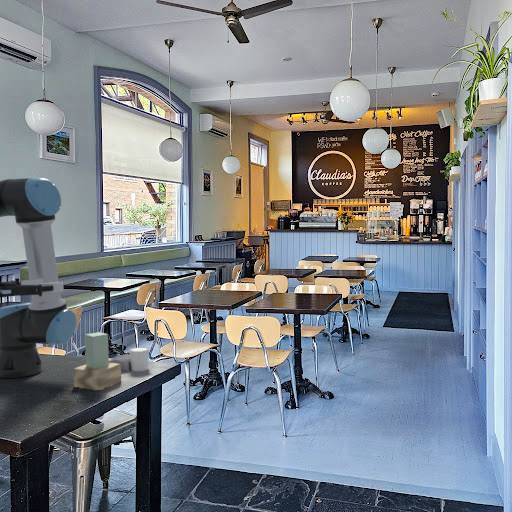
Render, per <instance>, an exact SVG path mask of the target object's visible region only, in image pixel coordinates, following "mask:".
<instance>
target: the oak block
mask: <svg viewBox="0 0 512 512" xmlns="http://www.w3.org/2000/svg"><path fill="white" fill-rule="evenodd" d="M119 382H120V383H122V371H121V364H117V363H109V366H107V367H102V368H97V369H92V368H89V367H87V366H86V363H85V364H83V365H80V366H77V367H74V368H73V387H74V388H77V387H79V389H84V388H85V390H91V389H92V391H97V390H101V391H103V390H105V389H104V388H106V387H108V388H110V387H112V386H111V385H113V386H115V385H117V384H119ZM116 383H117V384H116ZM114 384H115V385H114ZM109 386H110V387H109ZM102 389H103V390H102ZM106 389H107V388H106Z"/></svg>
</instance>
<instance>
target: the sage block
mask: <svg viewBox="0 0 512 512" xmlns="http://www.w3.org/2000/svg"><path fill="white" fill-rule="evenodd" d="M84 340H85V345H84V346H85V364H86V366H87V367H89V368H92V369H97V368H102V367H107V366H109V361H110V360H109V359H110V358H109V334H108V333H106V332H105V333H104V332H102V331H97V332H92V333H85V337H84Z"/></svg>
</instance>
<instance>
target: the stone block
mask: <svg viewBox="0 0 512 512" xmlns="http://www.w3.org/2000/svg"><path fill="white" fill-rule="evenodd" d="M109 363H117V364H121V372H129V371H132V370H131V363H130V354H129V353H128V354H126V353H125V354H121V355H117V356H114V357H113V358H111V359H110V360H109Z"/></svg>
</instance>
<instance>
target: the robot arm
mask: <svg viewBox="0 0 512 512" xmlns="http://www.w3.org/2000/svg"><path fill="white" fill-rule="evenodd" d="M61 206H62V197H61V194H60V191H59V188H58V187H57V185H55V184H54V183H53V181H51V180H50V179H47V178H42V177H30V178H29V177H28V178H8V179H7V178H6V179H2V180H0V218H3V217H12V216H13V217H15V223H16V225H17V226H19V227H20V228H21V230H22V236H23V245H24V250H25V257H26V266H27V270H28V278H29V279H24V280H23V279H22V280H20V278H18V277H17V278H14V280H9V281H0V298H7V297H18V296H20V297H22V296H31V302H25V303H19V304H18V303H17V304H11V305H6V306H2V307H0V379H1V378H2V379H12V378H13V379H15V378H23V377H24V378H25V377H29V376H33V375H36V374H39V373H41V372H42V371H43V370H44V369H43V368H44V367H43V362H42V359H41V356H40V353H39V351H38V349H37V344H41V345H49V346H56V345H57V346H59V345H60V346H61V345H65V344H66V343H67V342H68V341H70V340H71V338H72V337H73V335H74V333H75V331H76V326H77V316H76V314H75V312H73V310H71V309H69V308H68V307H67V301H66V300H65V299H64V298H62V297H61V293H62V292H63V293H64V282H63V281H59V275H58V267H57V261H56V254H55V245H54V237H53V229H52V224H53V223H54V222H55V221H56V215H57V213H58V212H60V210H61V209H60V207H61Z"/></svg>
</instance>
